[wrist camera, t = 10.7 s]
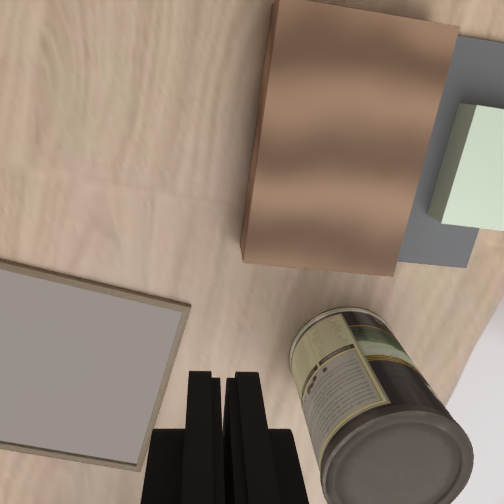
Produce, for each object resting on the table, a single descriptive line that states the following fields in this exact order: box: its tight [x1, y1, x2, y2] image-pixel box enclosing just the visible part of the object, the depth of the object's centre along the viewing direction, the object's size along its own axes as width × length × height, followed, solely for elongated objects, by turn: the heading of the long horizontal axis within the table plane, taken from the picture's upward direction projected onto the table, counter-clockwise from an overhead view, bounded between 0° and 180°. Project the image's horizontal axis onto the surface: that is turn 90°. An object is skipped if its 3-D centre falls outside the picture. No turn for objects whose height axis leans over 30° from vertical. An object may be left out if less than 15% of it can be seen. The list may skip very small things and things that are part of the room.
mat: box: [397, 36, 504, 268], centre depth 37 cm, size 18×8×1 cm, turn 172°
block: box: [427, 103, 504, 231], centre depth 36 cm, size 9×6×2 cm, turn 172°
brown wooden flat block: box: [240, 0, 460, 277], centre depth 34 cm, size 18×12×4 cm, turn 172°
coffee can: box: [290, 307, 474, 504], centre depth 37 cm, size 10×10×14 cm
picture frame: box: [0, 259, 191, 472], centre depth 40 cm, size 19×1×28 cm
